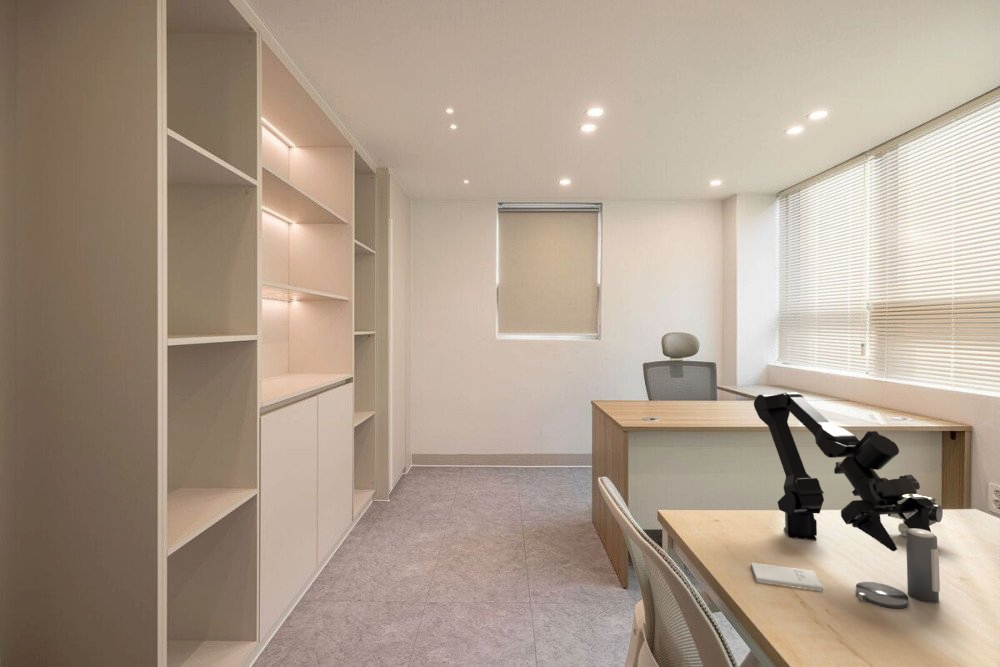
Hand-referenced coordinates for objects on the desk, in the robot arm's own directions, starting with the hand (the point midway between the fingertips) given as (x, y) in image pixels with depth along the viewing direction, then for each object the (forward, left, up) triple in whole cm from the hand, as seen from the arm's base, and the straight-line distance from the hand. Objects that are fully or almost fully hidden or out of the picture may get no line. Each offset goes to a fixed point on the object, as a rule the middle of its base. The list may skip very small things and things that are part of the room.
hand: (914, 549), depth 102 cm
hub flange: (-7, -4, -9) cm, 12 cm away
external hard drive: (-24, -1, -10) cm, 26 cm away
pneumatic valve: (+13, +36, -9) cm, 40 cm away
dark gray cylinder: (+1, -1, -9) cm, 9 cm away
